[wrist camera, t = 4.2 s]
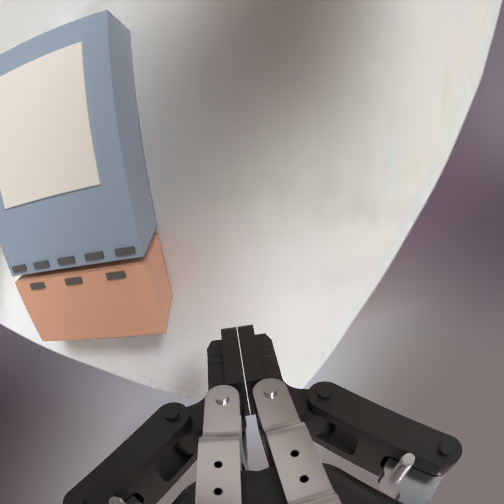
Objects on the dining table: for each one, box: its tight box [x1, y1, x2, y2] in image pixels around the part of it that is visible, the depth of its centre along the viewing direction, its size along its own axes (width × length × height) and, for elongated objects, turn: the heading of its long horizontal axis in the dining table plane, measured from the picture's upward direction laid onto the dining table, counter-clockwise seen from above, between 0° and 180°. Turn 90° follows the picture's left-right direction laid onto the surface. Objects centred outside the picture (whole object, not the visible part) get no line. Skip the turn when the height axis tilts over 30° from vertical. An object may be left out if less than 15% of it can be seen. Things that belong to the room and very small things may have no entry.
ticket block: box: [0, 10, 157, 276], centre depth 16 cm, size 10×14×5 cm
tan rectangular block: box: [15, 234, 172, 341], centre depth 20 cm, size 10×5×5 cm, turn 95°
